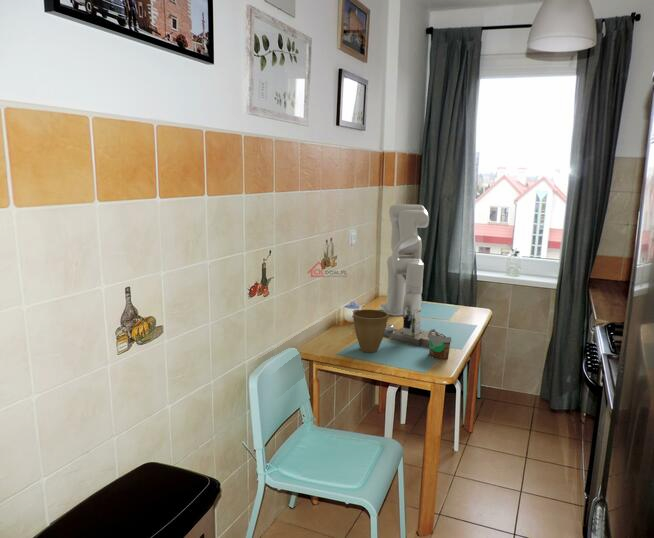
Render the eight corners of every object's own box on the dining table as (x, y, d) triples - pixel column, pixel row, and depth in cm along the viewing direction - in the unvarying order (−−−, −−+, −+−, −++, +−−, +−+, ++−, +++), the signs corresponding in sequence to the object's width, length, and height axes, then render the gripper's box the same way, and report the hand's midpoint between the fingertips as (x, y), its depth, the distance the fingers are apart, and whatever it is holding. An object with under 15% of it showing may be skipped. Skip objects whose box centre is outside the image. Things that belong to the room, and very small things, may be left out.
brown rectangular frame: (390, 339, 236) (391, 331, 235) (404, 332, 247) (404, 324, 246) (433, 349, 224) (433, 340, 224) (445, 341, 235) (446, 333, 235)
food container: (420, 352, 221) (421, 330, 219) (432, 350, 223) (434, 328, 221) (437, 362, 210) (439, 339, 208) (450, 360, 212) (451, 337, 210)
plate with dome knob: (377, 336, 240) (377, 328, 239) (390, 329, 251) (391, 321, 250) (417, 346, 229) (418, 337, 228) (430, 338, 239) (431, 329, 239)
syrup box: (402, 338, 238) (404, 308, 235) (409, 335, 242) (410, 305, 239) (413, 341, 234) (414, 310, 231) (419, 338, 239) (421, 308, 236)
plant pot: (393, 350, 223) (395, 314, 220) (370, 358, 213) (371, 320, 210) (367, 341, 233) (369, 306, 230) (344, 348, 223) (345, 312, 220)
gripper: (414, 284, 242) (412, 319, 246) (397, 291, 228) (395, 328, 232) (429, 287, 238) (427, 322, 242) (412, 294, 224) (410, 332, 228)
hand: (411, 325), depth 237 cm, fingers open, 9 cm apart
